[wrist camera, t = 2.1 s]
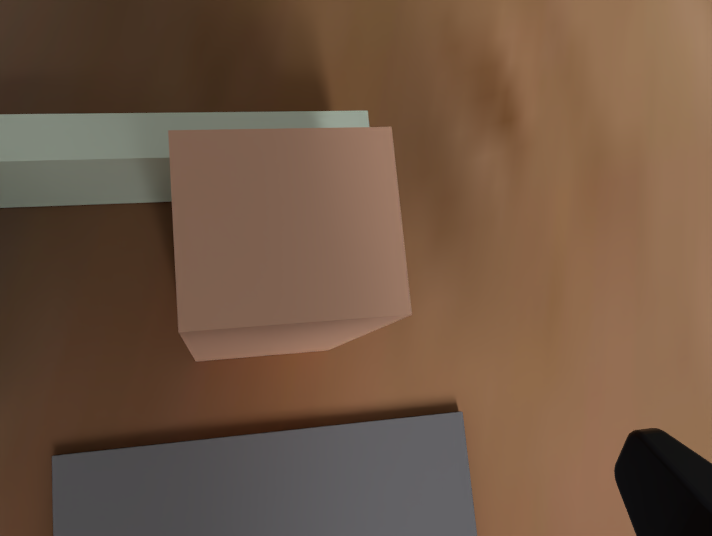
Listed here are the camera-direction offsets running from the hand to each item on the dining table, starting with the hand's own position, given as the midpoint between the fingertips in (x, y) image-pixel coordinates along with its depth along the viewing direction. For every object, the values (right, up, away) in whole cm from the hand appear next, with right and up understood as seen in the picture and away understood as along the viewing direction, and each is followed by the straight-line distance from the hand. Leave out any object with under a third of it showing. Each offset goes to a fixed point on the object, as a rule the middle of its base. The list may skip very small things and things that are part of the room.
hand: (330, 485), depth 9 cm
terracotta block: (-3, +2, +12) cm, 12 cm away
